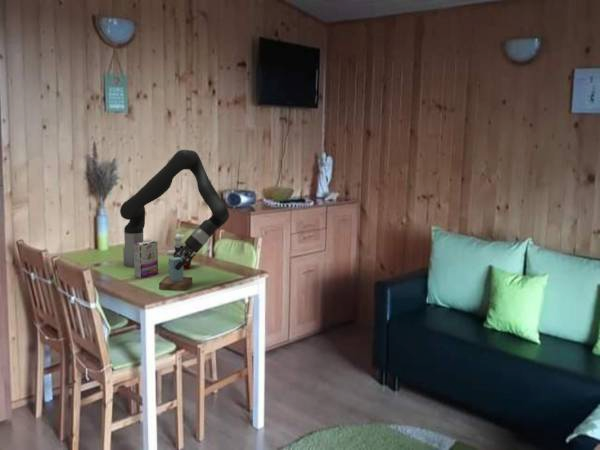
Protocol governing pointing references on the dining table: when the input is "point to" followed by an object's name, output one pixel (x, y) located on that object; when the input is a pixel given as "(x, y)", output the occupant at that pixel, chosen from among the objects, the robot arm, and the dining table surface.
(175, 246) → the plastic cup
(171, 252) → the seated beast figurine
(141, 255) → the candy bar box
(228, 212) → the robot arm
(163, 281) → the walnut board
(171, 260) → the teal block
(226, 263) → the dining table surface
